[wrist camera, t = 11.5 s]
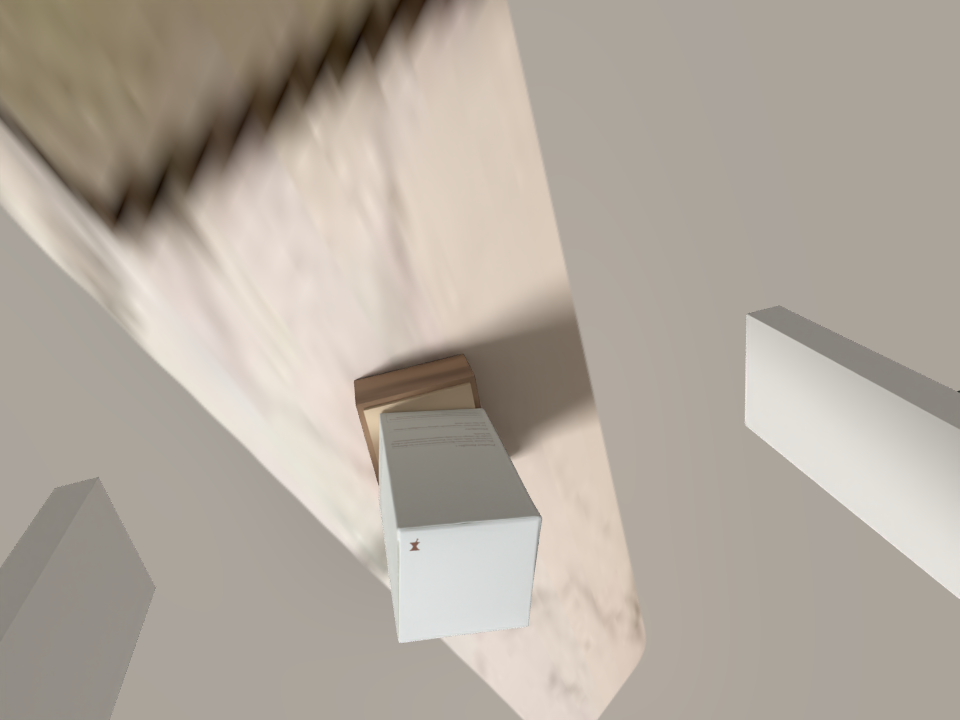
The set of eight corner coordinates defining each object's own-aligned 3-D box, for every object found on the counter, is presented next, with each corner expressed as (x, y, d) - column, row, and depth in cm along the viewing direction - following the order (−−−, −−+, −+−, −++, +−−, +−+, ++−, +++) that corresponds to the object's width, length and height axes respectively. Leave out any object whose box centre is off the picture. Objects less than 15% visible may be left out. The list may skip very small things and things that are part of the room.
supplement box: (377, 505, 44) (392, 647, 32) (378, 409, 41) (394, 526, 30) (481, 499, 45) (530, 631, 34) (488, 405, 43) (544, 515, 31)
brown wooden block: (354, 380, 45) (355, 407, 41) (463, 353, 46) (475, 377, 42) (386, 495, 49) (391, 529, 45) (486, 468, 50) (499, 499, 46)
